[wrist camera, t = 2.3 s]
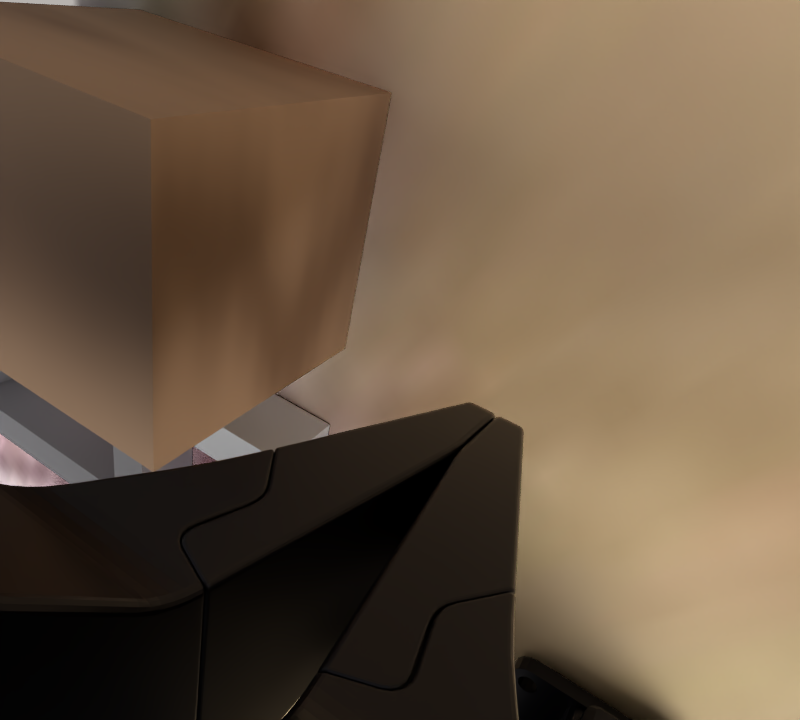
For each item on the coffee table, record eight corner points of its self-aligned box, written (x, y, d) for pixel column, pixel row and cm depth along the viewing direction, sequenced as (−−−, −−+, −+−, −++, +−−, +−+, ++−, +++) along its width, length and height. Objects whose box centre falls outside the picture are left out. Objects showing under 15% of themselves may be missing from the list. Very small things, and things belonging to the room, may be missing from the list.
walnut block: (347, 346, 16) (153, 472, 11) (145, 245, 18) (-85, 314, 14) (393, 92, 13) (149, 119, 8) (142, 9, 15) (-160, -7, 10)
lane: (323, 458, 18) (276, 498, 16) (-101, 210, 24) (-163, 221, 23) (431, -133, 11) (367, -165, 9) (-204, -252, 17) (-304, -282, 16)
